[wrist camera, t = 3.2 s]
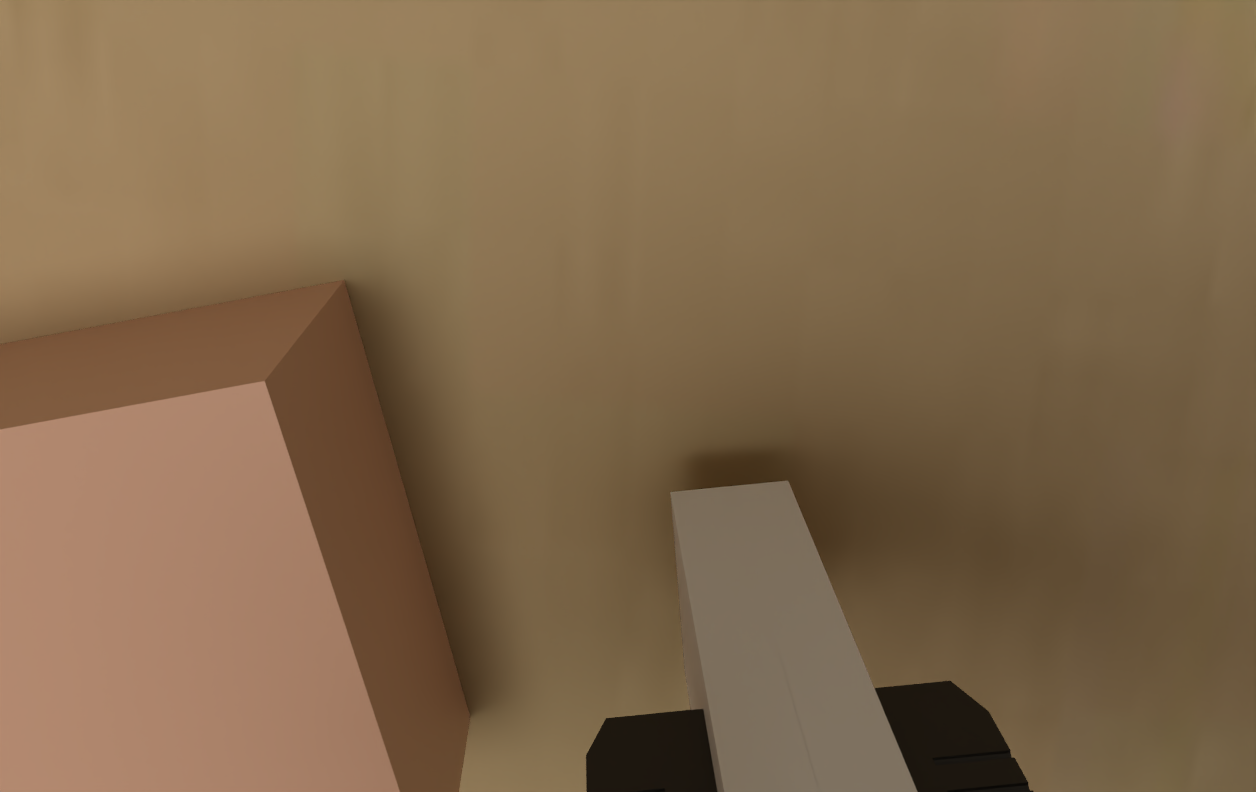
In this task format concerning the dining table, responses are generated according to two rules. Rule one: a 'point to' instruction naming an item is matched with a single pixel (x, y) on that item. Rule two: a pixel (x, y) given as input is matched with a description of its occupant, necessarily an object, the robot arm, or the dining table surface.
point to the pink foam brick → (214, 563)
